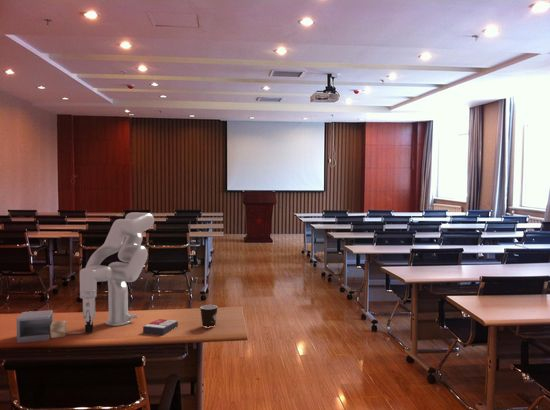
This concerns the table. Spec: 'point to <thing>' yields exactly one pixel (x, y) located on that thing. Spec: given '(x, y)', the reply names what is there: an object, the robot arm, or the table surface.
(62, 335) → the corded block
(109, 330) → the table surface
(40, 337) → the block
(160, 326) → the flat cardboard box
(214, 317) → the coffee mug
